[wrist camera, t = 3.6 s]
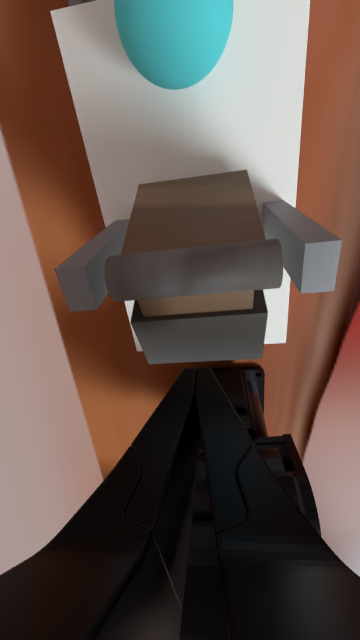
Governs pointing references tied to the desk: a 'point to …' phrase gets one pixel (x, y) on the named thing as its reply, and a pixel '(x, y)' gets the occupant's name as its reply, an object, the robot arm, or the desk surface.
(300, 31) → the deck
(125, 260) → the lever
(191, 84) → the ball
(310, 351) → the desk surface
